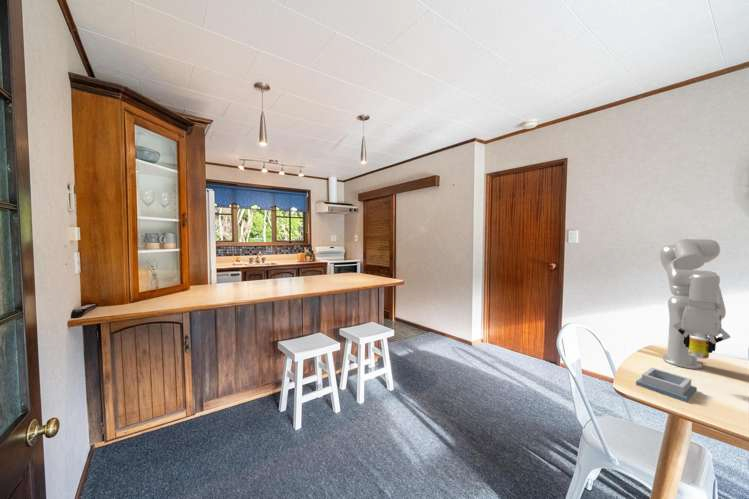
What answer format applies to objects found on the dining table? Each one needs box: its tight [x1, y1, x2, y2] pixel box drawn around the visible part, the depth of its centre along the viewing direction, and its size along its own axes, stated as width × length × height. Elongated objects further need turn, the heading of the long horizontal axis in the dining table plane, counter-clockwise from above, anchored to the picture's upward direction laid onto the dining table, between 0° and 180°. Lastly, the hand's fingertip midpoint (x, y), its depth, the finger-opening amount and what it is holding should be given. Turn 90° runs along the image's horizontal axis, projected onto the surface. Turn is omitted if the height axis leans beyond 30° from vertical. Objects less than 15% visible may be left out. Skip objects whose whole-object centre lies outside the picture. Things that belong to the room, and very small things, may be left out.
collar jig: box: [635, 367, 698, 403], centre depth 114 cm, size 14×14×4 cm
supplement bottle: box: [688, 332, 711, 360], centre depth 115 cm, size 6×6×10 cm
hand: (698, 348), depth 116 cm, fingers closed on supplement bottle, 5 cm apart
